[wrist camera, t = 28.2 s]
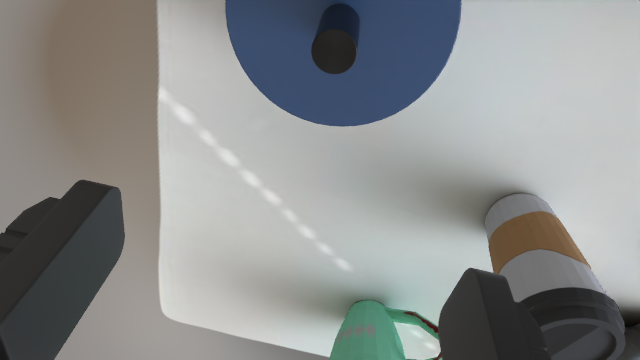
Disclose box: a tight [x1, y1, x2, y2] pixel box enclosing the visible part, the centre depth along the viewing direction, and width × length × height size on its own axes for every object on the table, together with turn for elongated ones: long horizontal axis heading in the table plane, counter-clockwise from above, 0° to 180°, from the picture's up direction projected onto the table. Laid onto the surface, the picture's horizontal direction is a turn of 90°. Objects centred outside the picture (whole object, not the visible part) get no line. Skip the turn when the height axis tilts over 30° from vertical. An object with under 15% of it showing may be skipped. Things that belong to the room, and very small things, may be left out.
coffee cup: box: [485, 193, 626, 360], centre depth 38 cm, size 8×8×15 cm
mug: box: [329, 300, 442, 360], centre depth 50 cm, size 15×10×10 cm
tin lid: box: [226, 0, 461, 126], centre depth 23 cm, size 14×14×6 cm
